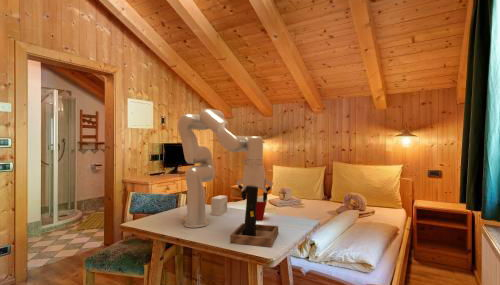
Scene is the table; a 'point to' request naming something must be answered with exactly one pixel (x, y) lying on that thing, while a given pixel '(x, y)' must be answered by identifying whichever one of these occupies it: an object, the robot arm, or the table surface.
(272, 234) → the wooden tray
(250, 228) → the portable radio
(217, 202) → the skincare box
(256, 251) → the table surface
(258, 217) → the plastic cup
